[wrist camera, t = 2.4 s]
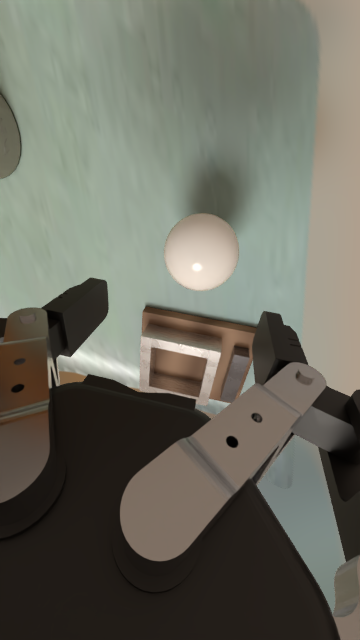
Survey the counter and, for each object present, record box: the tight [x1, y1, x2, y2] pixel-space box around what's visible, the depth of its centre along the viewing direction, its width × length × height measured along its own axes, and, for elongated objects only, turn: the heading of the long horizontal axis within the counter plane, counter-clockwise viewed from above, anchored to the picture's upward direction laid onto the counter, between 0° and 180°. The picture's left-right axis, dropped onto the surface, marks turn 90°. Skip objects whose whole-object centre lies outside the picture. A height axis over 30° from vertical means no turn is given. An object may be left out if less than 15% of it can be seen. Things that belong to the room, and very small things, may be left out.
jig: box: [140, 307, 257, 406], centre depth 35 cm, size 16×14×4 cm
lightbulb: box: [164, 213, 239, 291], centre depth 22 cm, size 6×6×11 cm
